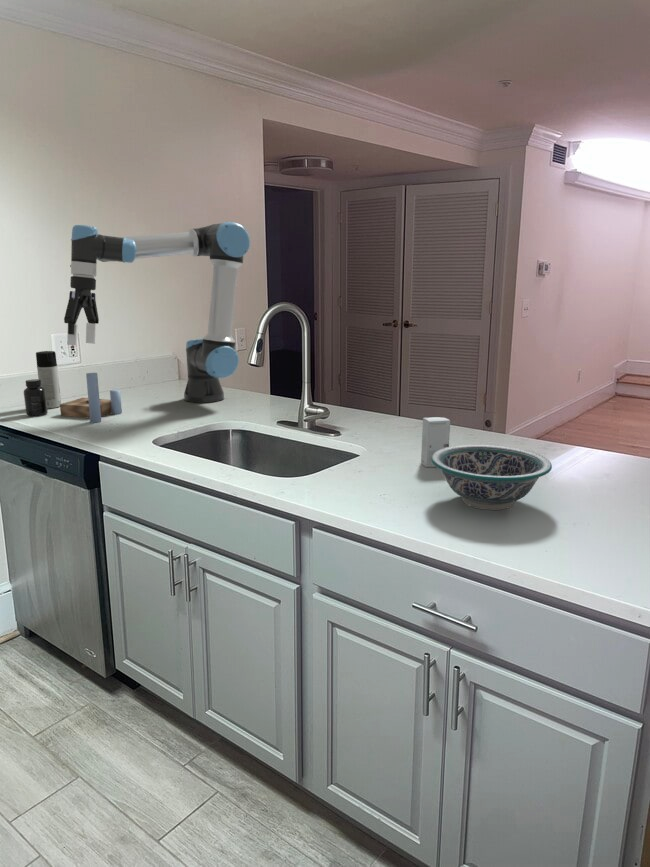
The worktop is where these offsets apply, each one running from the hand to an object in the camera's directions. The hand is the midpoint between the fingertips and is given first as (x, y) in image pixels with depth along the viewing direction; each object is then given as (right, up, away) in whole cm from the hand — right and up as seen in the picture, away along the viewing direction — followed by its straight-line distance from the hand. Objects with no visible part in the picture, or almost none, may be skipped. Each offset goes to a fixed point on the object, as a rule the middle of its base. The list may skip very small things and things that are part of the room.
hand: (81, 344), depth 209 cm
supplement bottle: (-21, -22, +15) cm, 34 cm away
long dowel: (+3, -25, +5) cm, 25 cm away
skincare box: (+107, -37, -41) cm, 120 cm away
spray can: (-21, -19, +27) cm, 40 cm away
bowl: (+114, -44, -67) cm, 139 cm away
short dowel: (+6, -22, +17) cm, 28 cm away
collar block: (-4, -22, +17) cm, 28 cm away
